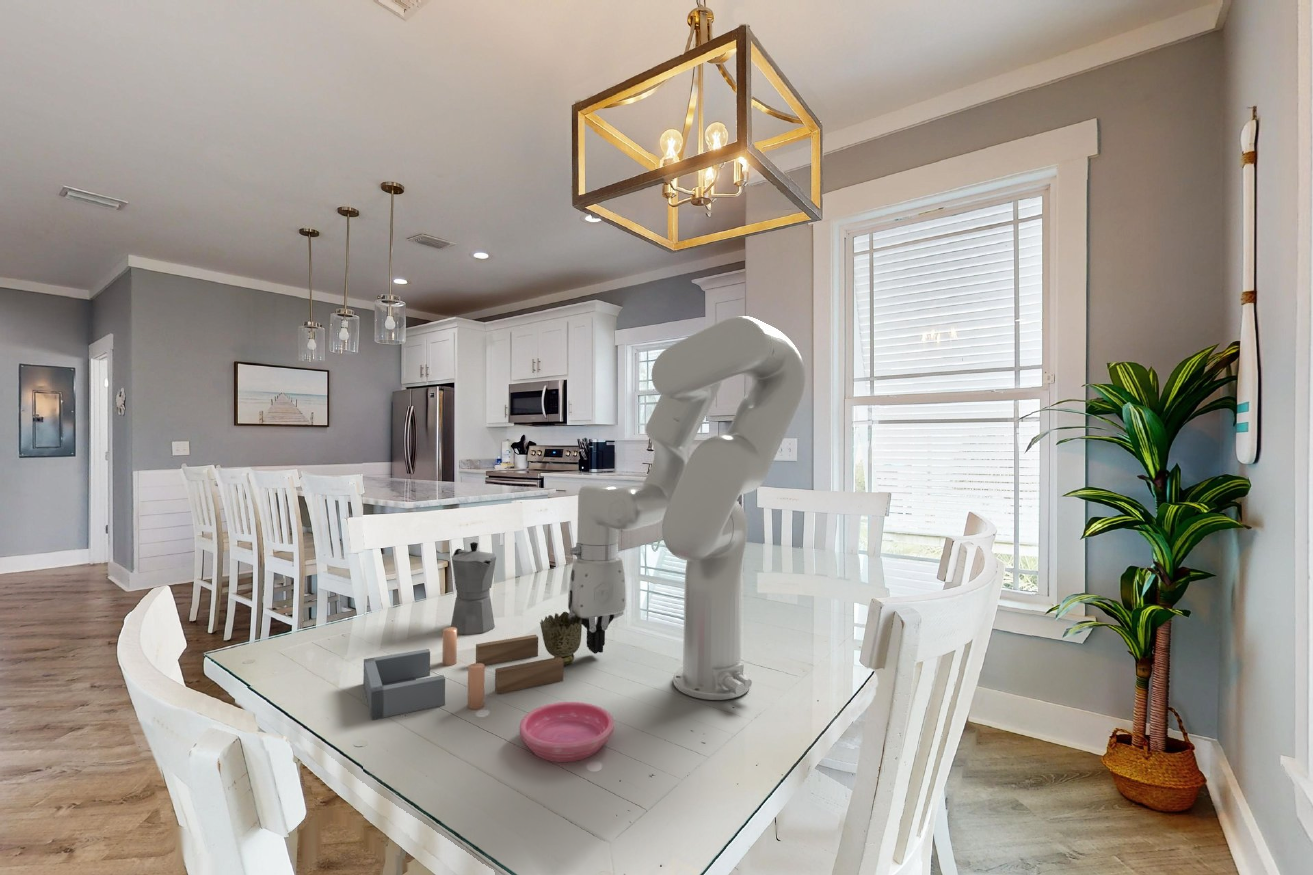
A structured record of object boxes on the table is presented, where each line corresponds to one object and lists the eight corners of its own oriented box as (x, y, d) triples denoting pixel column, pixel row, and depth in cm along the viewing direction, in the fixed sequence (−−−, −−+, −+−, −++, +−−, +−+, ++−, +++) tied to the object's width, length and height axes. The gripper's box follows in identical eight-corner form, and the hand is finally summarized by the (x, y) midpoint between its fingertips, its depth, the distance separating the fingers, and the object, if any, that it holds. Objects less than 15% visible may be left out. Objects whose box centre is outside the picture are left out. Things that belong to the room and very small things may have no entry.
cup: (535, 664, 108) (531, 620, 107) (567, 650, 113) (564, 608, 113) (560, 675, 103) (557, 629, 102) (593, 659, 108) (590, 616, 107)
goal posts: (485, 707, 90) (486, 667, 90) (469, 710, 89) (470, 670, 89) (454, 659, 108) (455, 626, 108) (441, 661, 107) (441, 628, 107)
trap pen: (444, 704, 91) (445, 678, 91) (371, 719, 85) (372, 691, 85) (428, 672, 103) (428, 648, 103) (363, 683, 98) (363, 659, 98)
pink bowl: (569, 713, 89) (570, 692, 89) (632, 742, 81) (632, 718, 81) (499, 746, 79) (500, 722, 79) (563, 782, 72) (563, 756, 72)
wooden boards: (563, 680, 100) (563, 659, 100) (497, 693, 95) (497, 671, 95) (535, 653, 112) (535, 634, 112) (475, 663, 107) (476, 644, 107)
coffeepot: (508, 630, 125) (510, 544, 124) (466, 641, 118) (467, 549, 118) (473, 613, 136) (475, 534, 136) (433, 622, 129) (434, 538, 129)
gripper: (566, 559, 104) (564, 664, 104) (642, 552, 111) (640, 650, 111) (551, 551, 110) (549, 650, 110) (624, 545, 118) (622, 638, 118)
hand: (595, 650), depth 111 cm, fingers closed
